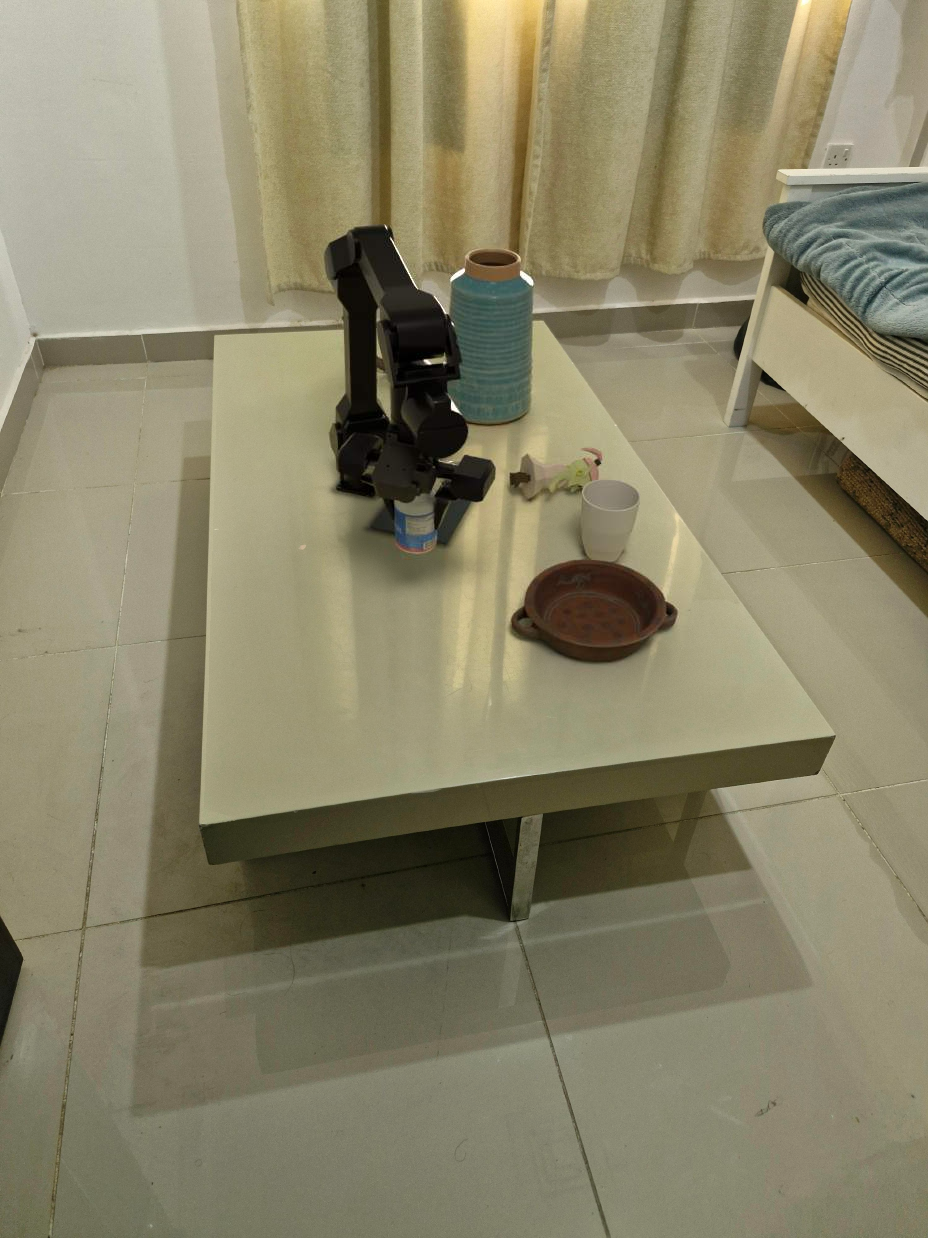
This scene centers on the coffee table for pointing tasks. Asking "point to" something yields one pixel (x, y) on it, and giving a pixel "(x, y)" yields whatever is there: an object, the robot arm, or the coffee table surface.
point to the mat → (446, 527)
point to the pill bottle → (416, 524)
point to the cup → (607, 517)
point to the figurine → (555, 474)
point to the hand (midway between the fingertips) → (416, 523)
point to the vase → (492, 337)
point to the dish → (593, 609)
